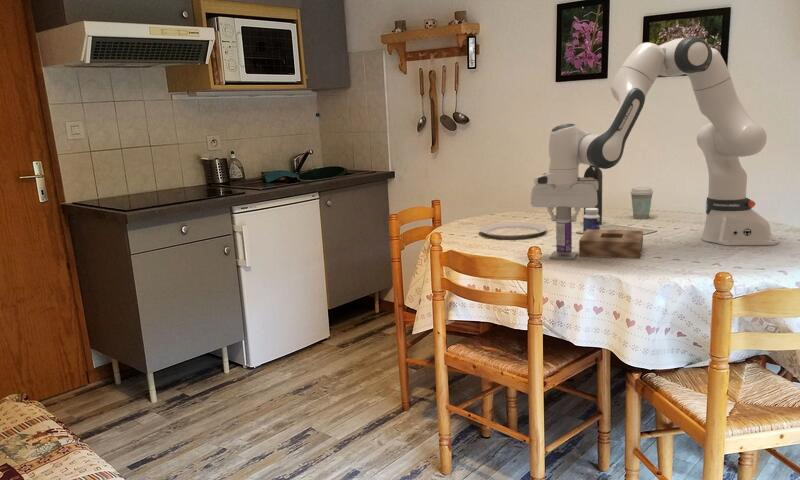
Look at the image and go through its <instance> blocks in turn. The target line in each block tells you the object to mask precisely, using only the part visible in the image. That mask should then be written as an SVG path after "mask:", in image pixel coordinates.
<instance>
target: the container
mask: <svg viewBox="0 0 800 480" xmlns="http://www.w3.org/2000/svg"><path fill="white" fill-rule="evenodd" d="M555 213H556V214H555V215H556V221H555V222H556V223H555V224H556V225H555V234H556V238H555V240H556V241H555V242H556V245H555V246H556V251H557V253H558V254H570V253H572V252H573V250H572V248H573V247H572V243H573V242H572V238H573V237H572V235H573V234H572V229H573V227H572V224H573V222H571V216H572V208H570V207H555Z"/></svg>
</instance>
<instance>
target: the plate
mask: <svg viewBox="0 0 800 480" xmlns="http://www.w3.org/2000/svg"><path fill="white" fill-rule="evenodd" d="M496 229H497V230H502V229H528V230H534V231H537V232H534V233H528V234H519V235H518V234H516V235H514V234H513V235H512V234H511V235H509V234H505V235H504V234H491V233H490V232H492V231H495V230H496ZM478 230H479V232H480V233H482V234H485V235H487V236H489V237H491V236H492V238H496V237H497V238H496V239H525V238H531V237H535V236H537V235H540V234H541V233H543V232H545V231H547V230H548V227H547V226H546V225H544V224H542V223H537V222H536V223H535V222H527V221H510V222H509V221H505V222H497V223H495V222H494V223H490V224H486V225H484V226H483V225H482V226H481V227H480V228H479V229H478ZM489 231H490V232H489Z"/></svg>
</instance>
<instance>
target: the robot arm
mask: <svg viewBox="0 0 800 480" xmlns="http://www.w3.org/2000/svg"><path fill="white" fill-rule="evenodd" d="M683 75H686V76H687V77H688V79H689V80H690V83H691V87H692V91H693V93H694V96H695V99H696V103H697V105H698V108H699V111H700V113H701V114H702V115H704V116H705V117H706V118H707V120H708V121H710V122H709V123H707V124H704V125H703V126H701V127H700V129H699V130H698V132H697V134H696V143H697V146H698V147H699V148H700V150H701V151H702V153H703V155H704V159H705V162H706V167H707V171H708V172H707V174H708V191H707V192H708V195H707V197H706V201H705V214H706V216H705V222H704V223H705V224H704V227H703V230H702V234H701V237H700V239H701V240H702V241H705V242H709V243H713V244H714V243H715V244H719V245H722V246H775V245H778V244H779V238H778V236H776V235H774V234H772V229H771V225H770V223H769V222H768V220H767V219H766V218H765V217H763V216H762V215H760V214H759V213H758V212H756V211H755V210H753V208H755V207H756V202H755V201H754V200H751V199H750V198H748V197H747V184H748V174H747V172H746V170H745V169H744V168H743V166H742V165H741V162H740V159H739V158H743V157H750V156H755V155H756V154H759V153H760V152H761V151H762V150H763V149H764V148H765V146H766V144H767V143H766V142H767V132H766V130H765V129H764V128H763V126H761V125H760V124H758V123H757V122H755V120H754V119H753V118H752V117H751V115H750V114H749V113H748V111H747V110H746V109H745V108H744V106H743V104H742V102H741V101H740V99H739V97H738V94H737V91H736V88H735V85H734V84H733V81H732V77H731V73H730V71H729V69H728V66H727V64H726V61H725V60H724V58H723V56H722V54H721V53H720V51H719V50H718V49H716V48H714V47H713V48H712V47H710V45H709V43H707V41H706V40H705V39H703V38H701V37H698V36H687V37H682V38H681V37H679V38H675V39H672V40H670V41H667V42H666V41H665V42H662V43H658V44H656V43H655V42H653V43H652V42H648V41H647V42H646V41H645V42H642V43H640V44H638V45H637V46H636V47H635V48H634V50H633V51H632V52H631V53H630V54H629V56H627V58H626V59H625V60H624V61H623V63H622V64H621V66H620V68H619V69H618V70H617V72H616V74H615V76H614V77H613V80H612V81H611V82H612V83H611V86H610V91H611V94H612V96H613V98H614V99H615V101H617V102H618V108H617V110H616V112H615V114H614V116H613V118H612V120H611V122H610V123H609V125H608V127H607V128H606V130H605V131H603V132H602V133H591V132H589V131H587V130H584V129H582V128H580V127H578V126H577V125H576V124H575V123H566V124H560V125H557V126H554V127H553V128H552V129H551V131H550V134H549V142H548V143H549V144H548V157H549V161H550V162H549V166H548V172H545V173H543V174H540V175H537V176H536V177H534V179H533V181H534V186H532V188H531V192H530V193H531V194H530V205H531V206H532V208H547V212H548V215H550V221H551V222H556V214H554V211H553V210H554V208H556V207H570V208H571V209H572V208H573V209H574V211H575V213H574V215H573V214H571V222H572V223H574V222H575V223H576V222H577V216H578V214H579V213H580V211H581V209H584V208H594V207H595V206H596V205H597V204H598V198H597V190H598V188H599V183H598V181H597V180H596V179H594V178H593V177H589V178H585V177H584V176H583V177H582V176H581V177H580V176H579V165H580V164H583V165H587V166H590V165H591V166H595V167H598V168H600V169H603V170H608V169H611V168H613V167H615V166H616V165H618V163H619V162H620V161H621V159H622V157H623V154H624V151H625V150H624V149H625V145H626V142H627V140H628V138H629V135H630V133H631V132H632V129H633V128H634V126H635V125H636V122H637V120H638V118H639V117H640V115H641V112H642V110H643V109H644V105H645V102H646V97H647V95H648V93H649V91H650V89H651V88H652V86H653V84H654V83H655V81H656V79H657V78H658V77H659V78H667V77H673V78H674V77H681V76H683ZM593 180H595V181H593Z"/></svg>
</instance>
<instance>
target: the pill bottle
mask: <svg viewBox="0 0 800 480" xmlns="http://www.w3.org/2000/svg"><path fill="white" fill-rule="evenodd" d="M585 213H586V214H585V215H584V214H583V217H582V219H583V221H582V222H583V223H582V225H583V228H582V235H583V234H584V233H585V231H586V230H587V229H595V230H601V229H600V228H601V224H600V216H599V215H598V208H585Z"/></svg>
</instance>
